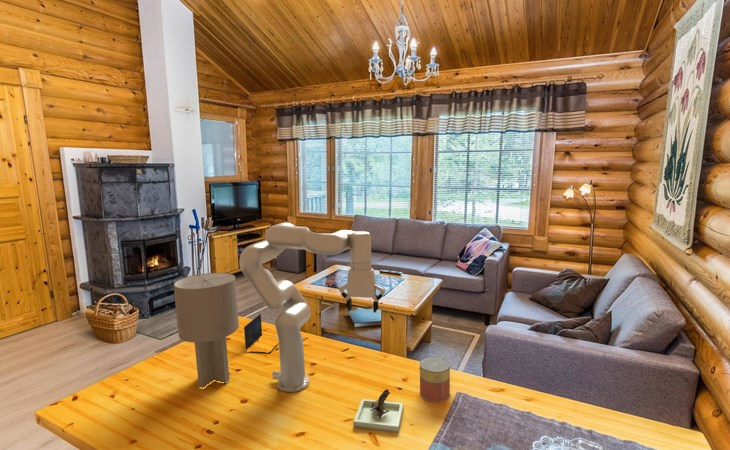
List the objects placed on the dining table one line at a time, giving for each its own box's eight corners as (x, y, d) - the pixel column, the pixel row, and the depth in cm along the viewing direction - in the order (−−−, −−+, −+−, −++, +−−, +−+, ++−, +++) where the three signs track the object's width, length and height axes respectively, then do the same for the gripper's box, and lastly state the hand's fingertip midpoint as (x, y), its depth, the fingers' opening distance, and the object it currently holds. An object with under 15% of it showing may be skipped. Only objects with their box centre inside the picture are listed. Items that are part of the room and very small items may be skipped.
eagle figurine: (396, 416, 132) (393, 393, 140) (383, 406, 129) (382, 382, 137) (377, 425, 134) (376, 401, 142) (365, 415, 131) (364, 391, 139)
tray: (353, 427, 130) (353, 421, 130) (362, 404, 142) (362, 398, 142) (398, 432, 127) (398, 426, 126) (403, 408, 139) (403, 403, 139)
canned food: (427, 382, 156) (427, 354, 154) (454, 391, 149) (454, 361, 148) (414, 396, 147) (414, 366, 145) (442, 406, 140) (442, 374, 138)
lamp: (170, 389, 156) (159, 285, 150) (212, 362, 177) (204, 270, 171) (215, 400, 147) (205, 291, 141) (254, 371, 168) (247, 274, 162)
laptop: (270, 354, 184) (268, 328, 182) (245, 353, 186) (243, 326, 184) (284, 338, 201) (283, 314, 200) (261, 337, 204) (260, 313, 202)
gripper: (335, 267, 140) (337, 313, 142) (382, 268, 136) (383, 315, 139) (341, 262, 147) (342, 305, 150) (386, 263, 143) (387, 308, 146)
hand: (362, 310), depth 144 cm, fingers open, 9 cm apart
